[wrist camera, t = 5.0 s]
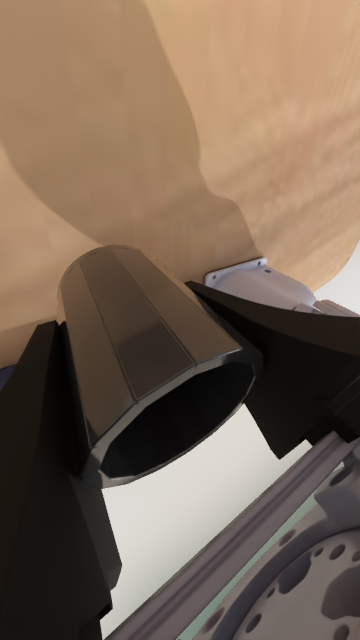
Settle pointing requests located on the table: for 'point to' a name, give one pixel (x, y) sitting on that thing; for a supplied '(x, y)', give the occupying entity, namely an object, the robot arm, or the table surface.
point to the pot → (144, 365)
